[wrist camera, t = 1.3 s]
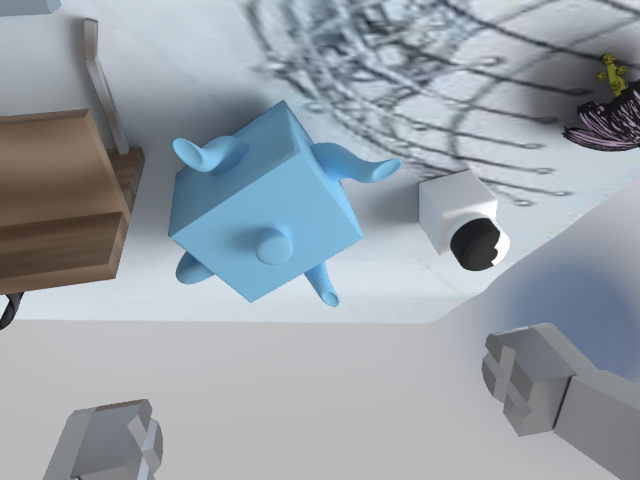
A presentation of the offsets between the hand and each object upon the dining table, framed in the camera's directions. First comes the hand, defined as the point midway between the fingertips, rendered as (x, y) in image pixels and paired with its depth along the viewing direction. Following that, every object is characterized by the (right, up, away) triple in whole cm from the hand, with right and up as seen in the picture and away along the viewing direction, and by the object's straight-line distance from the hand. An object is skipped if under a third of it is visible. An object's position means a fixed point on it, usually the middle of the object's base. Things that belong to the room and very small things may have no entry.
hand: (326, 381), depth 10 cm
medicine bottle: (+17, +9, +46) cm, 50 cm away
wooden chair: (-26, +16, +29) cm, 42 cm away
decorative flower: (+34, +22, +40) cm, 57 cm away
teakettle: (-6, +12, +38) cm, 40 cm away
